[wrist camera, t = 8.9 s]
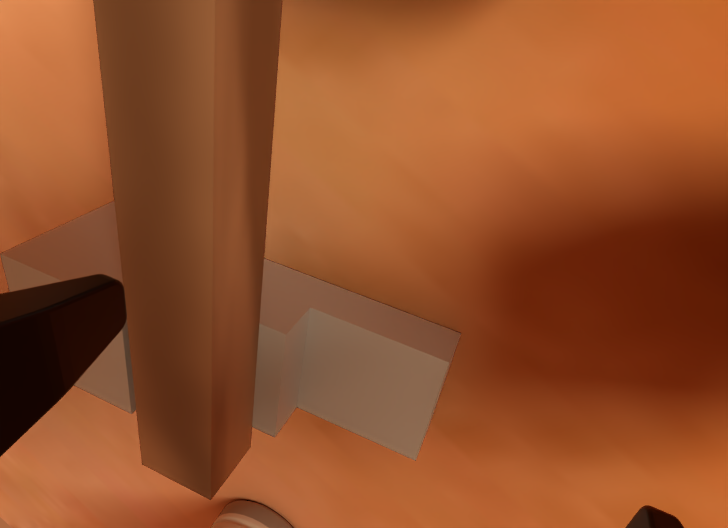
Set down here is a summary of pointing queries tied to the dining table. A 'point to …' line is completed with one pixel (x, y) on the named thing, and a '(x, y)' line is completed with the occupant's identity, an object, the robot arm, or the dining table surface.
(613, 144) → the dining table surface
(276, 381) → the notch rack
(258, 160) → the walnut bar
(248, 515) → the travel mug
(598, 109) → the dining table surface
